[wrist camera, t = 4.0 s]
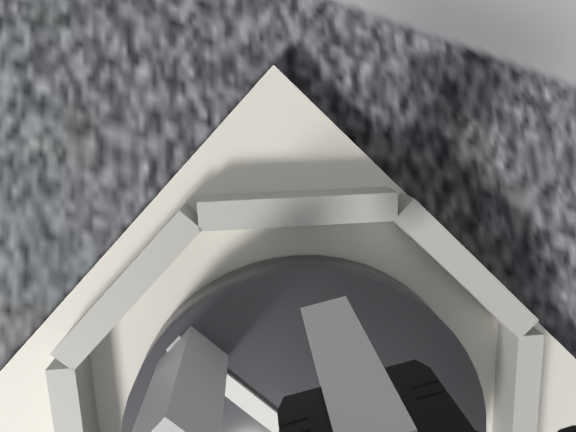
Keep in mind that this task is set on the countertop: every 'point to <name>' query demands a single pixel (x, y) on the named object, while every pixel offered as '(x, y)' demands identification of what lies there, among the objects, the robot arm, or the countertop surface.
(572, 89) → the countertop surface
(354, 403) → the robot arm
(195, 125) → the countertop surface
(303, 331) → the dial
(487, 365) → the panel
